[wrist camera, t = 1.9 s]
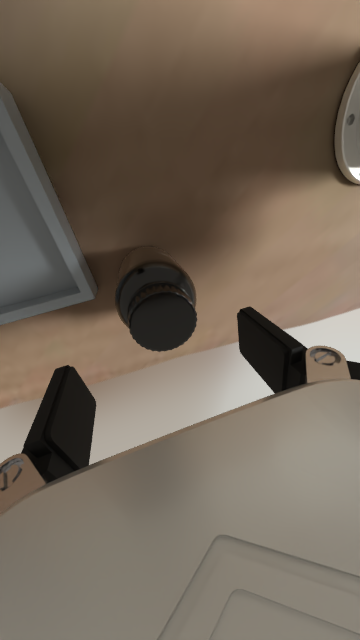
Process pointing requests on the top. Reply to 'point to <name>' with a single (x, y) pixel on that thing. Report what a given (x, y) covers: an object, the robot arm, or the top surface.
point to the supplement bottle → (155, 299)
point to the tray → (33, 230)
